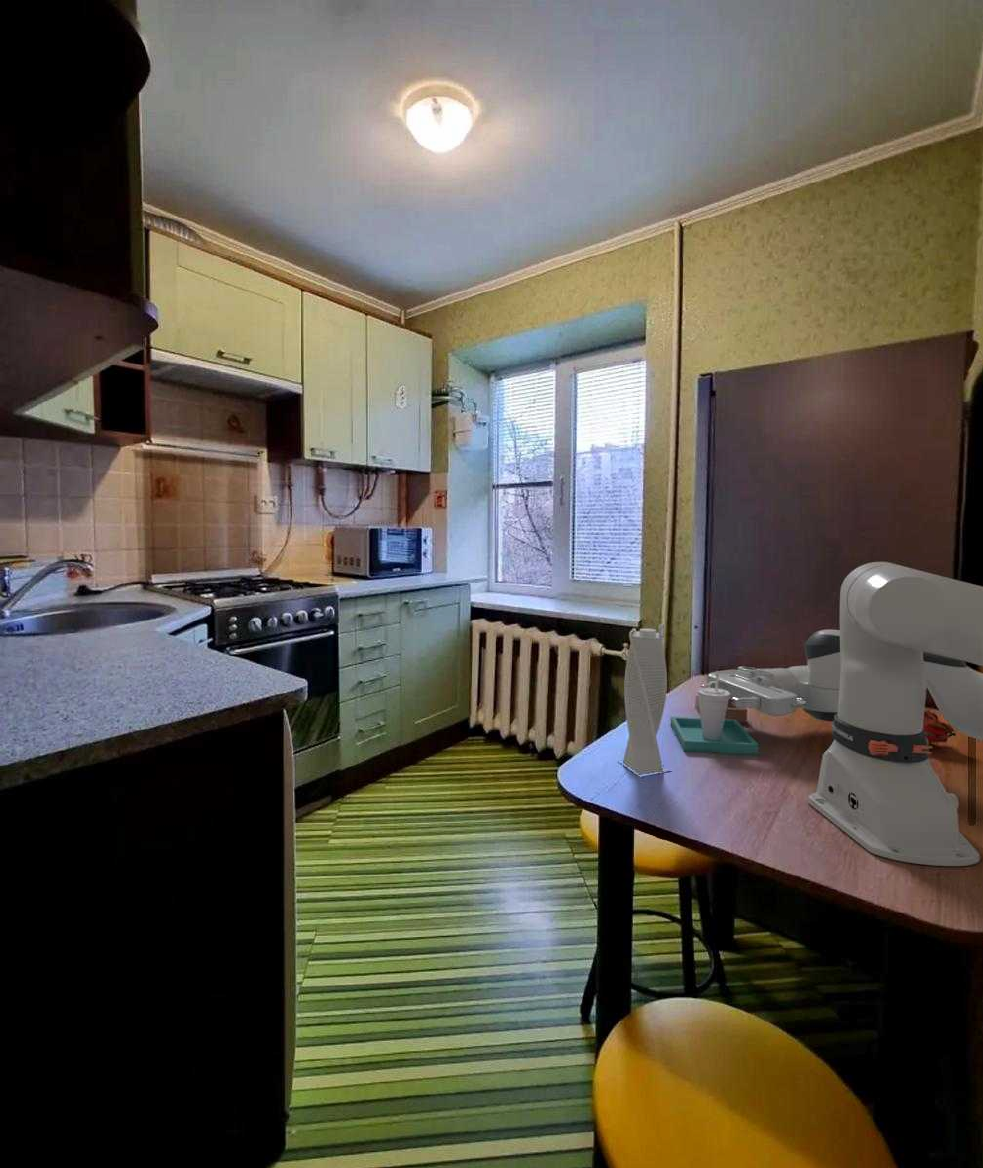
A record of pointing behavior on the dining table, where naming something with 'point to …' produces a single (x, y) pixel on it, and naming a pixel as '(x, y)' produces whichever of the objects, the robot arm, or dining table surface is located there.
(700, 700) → the smoothie
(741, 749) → the tray
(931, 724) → the dragon fruit
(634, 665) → the skyscraper
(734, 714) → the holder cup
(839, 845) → the dining table surface
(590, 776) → the dining table surface
